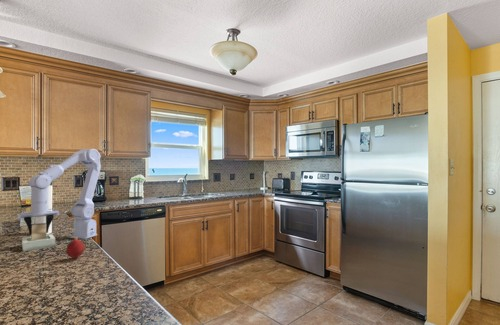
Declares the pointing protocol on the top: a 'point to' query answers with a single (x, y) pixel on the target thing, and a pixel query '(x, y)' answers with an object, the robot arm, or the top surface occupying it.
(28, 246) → the dish
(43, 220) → the cylindrical container
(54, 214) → the robot arm
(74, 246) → the onion
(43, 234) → the block
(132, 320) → the top surface
